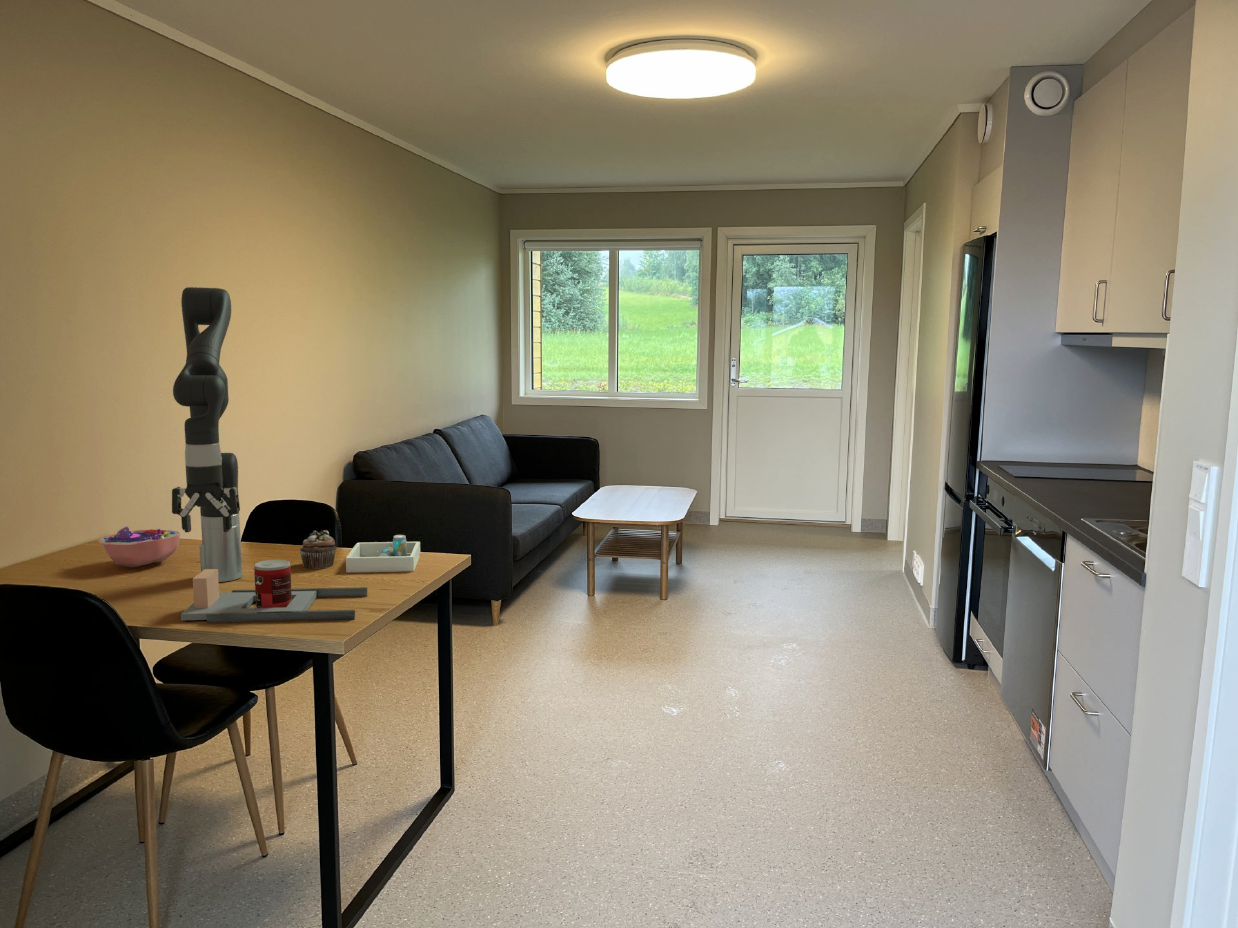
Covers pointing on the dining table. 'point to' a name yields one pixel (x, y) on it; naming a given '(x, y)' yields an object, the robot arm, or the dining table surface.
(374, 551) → the white shallow tray
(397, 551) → the beverage can
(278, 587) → the canned food
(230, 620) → the guide rails
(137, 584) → the dining table surface
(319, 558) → the cupcake
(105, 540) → the cell model
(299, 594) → the grey piece
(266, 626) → the dining table surface
